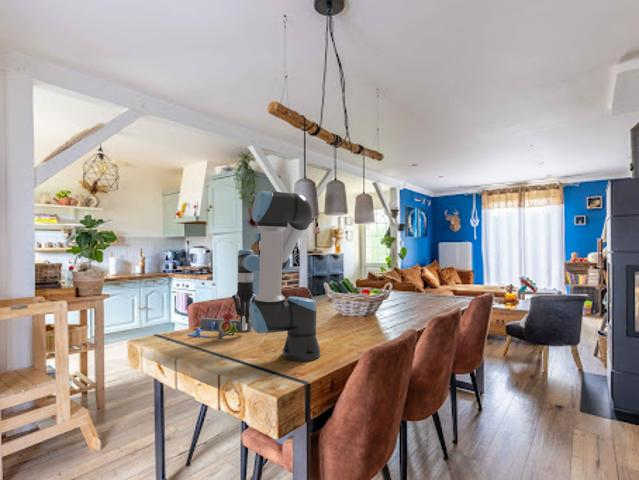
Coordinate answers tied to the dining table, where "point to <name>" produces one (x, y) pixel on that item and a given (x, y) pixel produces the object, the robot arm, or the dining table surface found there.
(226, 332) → the bird rattle
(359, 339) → the dining table surface
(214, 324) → the duct rack
